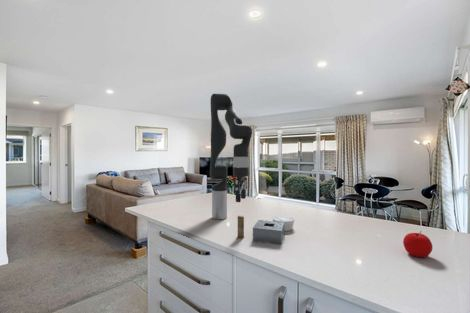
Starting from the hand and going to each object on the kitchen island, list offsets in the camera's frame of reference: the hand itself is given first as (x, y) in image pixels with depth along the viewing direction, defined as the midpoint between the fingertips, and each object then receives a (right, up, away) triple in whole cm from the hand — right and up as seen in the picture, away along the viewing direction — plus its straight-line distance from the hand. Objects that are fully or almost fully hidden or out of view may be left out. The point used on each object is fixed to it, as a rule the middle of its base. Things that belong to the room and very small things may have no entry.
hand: (240, 200), depth 110 cm
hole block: (+14, -18, 0) cm, 22 cm away
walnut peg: (0, -18, 0) cm, 18 cm away
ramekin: (+23, -18, +14) cm, 32 cm away
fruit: (+69, -19, -19) cm, 74 cm away
